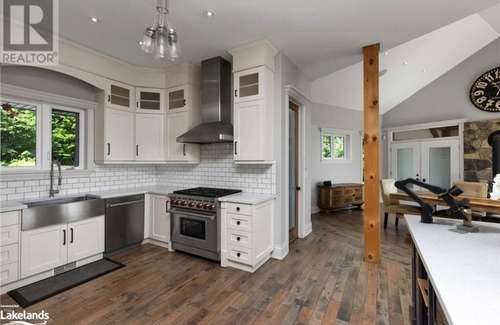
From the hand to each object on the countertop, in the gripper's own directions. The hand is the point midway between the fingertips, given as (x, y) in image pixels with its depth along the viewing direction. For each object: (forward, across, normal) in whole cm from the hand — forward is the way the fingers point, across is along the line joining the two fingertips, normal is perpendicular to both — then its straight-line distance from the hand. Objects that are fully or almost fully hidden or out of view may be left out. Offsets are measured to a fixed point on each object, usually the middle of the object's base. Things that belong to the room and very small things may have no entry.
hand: (469, 220), depth 149 cm
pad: (+3, -8, +7) cm, 11 cm away
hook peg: (+4, 0, +6) cm, 7 cm away
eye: (+4, 0, +6) cm, 7 cm away
